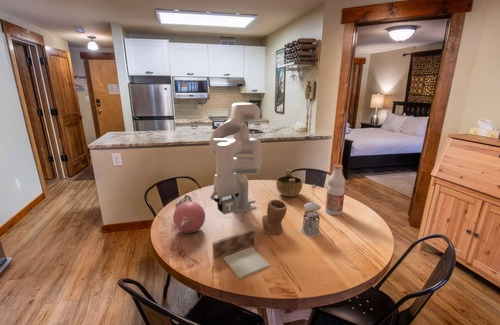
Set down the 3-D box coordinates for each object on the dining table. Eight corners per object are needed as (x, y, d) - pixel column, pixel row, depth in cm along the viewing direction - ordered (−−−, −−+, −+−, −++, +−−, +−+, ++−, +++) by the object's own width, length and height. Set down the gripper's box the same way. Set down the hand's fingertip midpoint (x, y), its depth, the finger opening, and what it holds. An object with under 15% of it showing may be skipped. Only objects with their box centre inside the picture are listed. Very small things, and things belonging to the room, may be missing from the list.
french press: (321, 228, 132) (325, 182, 125) (319, 240, 121) (323, 191, 114) (302, 224, 135) (304, 180, 128) (298, 236, 125) (301, 188, 117)
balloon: (165, 243, 119) (162, 214, 115) (181, 222, 138) (178, 195, 134) (197, 246, 118) (195, 215, 113) (209, 223, 137) (207, 197, 132)
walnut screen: (252, 242, 120) (252, 228, 118) (254, 243, 119) (254, 230, 117) (213, 256, 110) (212, 242, 108) (214, 258, 109) (214, 244, 107)
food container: (187, 221, 139) (186, 204, 136) (177, 220, 140) (175, 203, 137) (196, 211, 150) (195, 195, 147) (186, 210, 151) (185, 194, 149)
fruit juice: (323, 207, 154) (327, 162, 146) (339, 208, 153) (344, 163, 145) (327, 215, 145) (331, 168, 137) (344, 215, 144) (349, 168, 136)
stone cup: (287, 236, 125) (288, 208, 121) (262, 235, 125) (263, 207, 121) (283, 220, 140) (284, 195, 135) (261, 220, 140) (262, 194, 136)
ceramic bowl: (304, 202, 161) (305, 180, 157) (277, 202, 161) (277, 179, 157) (299, 188, 182) (300, 168, 178) (275, 188, 183) (275, 168, 178)
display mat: (251, 248, 116) (251, 246, 115) (269, 266, 104) (269, 264, 104) (223, 258, 109) (223, 257, 108) (239, 279, 97) (239, 277, 97)
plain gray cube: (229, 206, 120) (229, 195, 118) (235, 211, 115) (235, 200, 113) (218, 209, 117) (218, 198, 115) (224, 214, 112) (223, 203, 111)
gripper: (238, 165, 118) (239, 201, 123) (203, 172, 109) (205, 210, 115) (247, 170, 112) (247, 207, 117) (210, 177, 103) (212, 217, 109)
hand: (226, 208), depth 116 cm, fingers closed on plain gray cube, 5 cm apart
